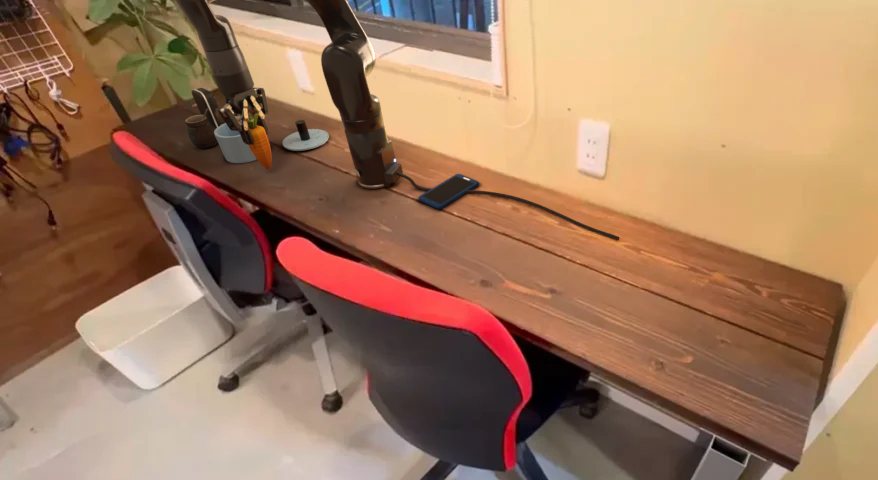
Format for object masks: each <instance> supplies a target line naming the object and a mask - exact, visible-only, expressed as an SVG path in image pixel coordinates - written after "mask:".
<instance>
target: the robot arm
mask: <svg viewBox="0 0 878 480" xmlns="http://www.w3.org/2000/svg"><path fill="white" fill-rule="evenodd" d="M174 2H175V4H176V5H177V6H178V8H179V9H180V11H181V12H182V13H183V15H184V16H185V18H186V19H187V21H188V23H189V24H190V25H191V26H192V27H193V29H194V31H195V32H196V35H197V38H198V40H199V42H200V44H201V47H202V50H203V52H204V56H205V58H206V63H207V65H208V66H209V70H210V71H211V74H212V76H213V80H214V82H215V83H216V86H217V88H218V91H219V92H220V94H222V95H223V96H224V100H225V105H224V106H223V107H218V108H217V112H218V114H219V115H220V117H221V119H222V120H223V121H224V123H226V124H227V126H228V127H229V129H230V130H232V131H239V133H240V135H241V137H242V140H243V142H244V143H245V144H248V145H252V144H254V140H253V138H252V136H251V133H250V131H249V129H248V124H247V120H248V114H250V116H251V117H253V118H254V115H255V113H256V114H258V115H259V116H258V119H257V124H256V125H258V126H262V127H263V128H264V129H265V132H266V134H267V135H268V134H269V128H268V125H267V123H266V120H265V119H266V115H267V114H269V106H268V102H267V96H266V91H265V89H264V87H255V82H254V80H253V77H252V75H251V72H250V68H249V66H248V64H247V61H246V59H245V56H244V53H243V51H242V49H241V48H240V45H239V43H238V40H237V38H236V37H237V36H236V35H235V32H234V29H233V27H232V25H231V23H230V21H229V19H228V18H227V17H226V16H224V15H221V14H215V13H214V11H213V9H212V8H211V6H210V3H212V2H216V0H174ZM305 2H306V3H307V4H308V5H309V6H310V7H311V8H312V9H313V10H314V12H315V13H316V15H317V16H318V17H319V18H320V20H321V22H322V24H323V26H324V28H325V30H326V33H327V34H328V36H329V39H330V41H331V42H330V43H329V44H327V45H326V46H325V47H324V49H323V50H322V52H321V56H320V63H321V71H322V73H323V76H324V80H325V83H326V87H327V90H328V92H329V96H330V99H331V101H332V103H333V105H334V106H335V108H336V109H337V110H338V113H339V116H340V120H341V123H342V127H343V130H344V133H345V139H346V141H347V145H348V149H349V152H350V156H351V160H352V164H353V166H352V170H353V172H354V173H355V174H356V179H357V183H358V185H359V186H360V187H361V188H363V189H368V190H377V189H381V188H390V187H391V186H392V185H393V184H394V183H395V182H397V180H398V179H399V178H400V177H401V178H404V179H405V180H406V181H409V182H410V183H411V185H412V186H413V187H414V188H416V189H418V190H420V191H423V192H427V191H429V190H431V189H432V188H430V187H429V188H427V187H423V186H421V185H418V184H417V183H416V182H415V181H414V180H413V179H412V178H411V177H410V176H408V175H406V174H404V173H403V167H402V164H401V163H397V158H396V154H395V149H394V143H393V141H392V140H391V139H389V138H388V133H387V129H386V125H385V119H384V115H383V111H382V105H381V102H380V99H379V97H378V96H376V95H375V94H372V93H371V91H370V88H369V85H368V80H367V77H368V76H369V75H370V74H371V73H372V72H373V71H374V70H375V67H376V60H377V59H376V53H375V50H374V47H373V45H372V43H371V41H370V39H369V37H368V36H367V34H366V32H365V31H364V28H363V27H362V25H361V24H360V22H359V20H358V18H357V17H356V15H355V13H354V11H353V10H352V8H351V6H350V4H349V2H348V1H347V0H305ZM240 114H242V116H240ZM240 120H241V121H242V125H241V123H240ZM447 190H449V189H447ZM466 194H477V195H478V194H480V195H489V196H494V197H495V196H497V197H501V198H506V199H511V200H514V201H518V202H521V203H524V204H526V205H530V206H533V207H535V208H538V209H541V210H543V211H545V212H547V213H549V214H551V215H554V216H556V217H558V218H561V219H562V220H565V221H567V222H569V223H571V224H573V225H576V226H578V227H581V228H582V229H585V230H588V231H590V232H593V233H596V234H598V235H602V236H604V237H608V238H610V239H614V240H617V241H619V240H620V238H621V237H620V236H618V235H615V234H613V233H610V232H607V231H603V230H601V229H597V228H594V227H592V226H590V225H587V224H585V223H582V222H580V221H577V220H575V219H573V218H571V217H568V216H567V215H564V214H562V213H560V212H558V211H555V210H553V209H551V208H549V207H547V206H544V205H541V204H539V203H536V202H534V201H531V200H527V199H525V198H522V197H518V196H514V195H510V194H506V193H501V192H495V191H487V190H479V189H478V190H476V189H472V190H466Z"/></svg>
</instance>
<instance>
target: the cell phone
mask: <svg viewBox="0 0 878 480" xmlns="http://www.w3.org/2000/svg"><path fill="white" fill-rule="evenodd" d="M479 185H480V182H479V180H476V179H474V178H471V177H469V176H467V175H464V174H461V173H456V174H454V175H453V176H451V177H449V178H447V179H445V180H444V181H442V182H440V183H439V184H437V185H436V186H434V187H433V188H430V189H431V190H429V191H425V192H424V193H422V194H421V195H419V196H418V200H419V202H422V203H424V204H425V205H428V206H430V207H432V208H434V209H436V210H443V209H444V208H445V207H447V206H449V205H450V204H451V203H453V202H455V201H456V200H458V199H459V198H461V197H463V196H464V195H465V194H467V193H466V190H475V188H477V187H478V186H479ZM447 189H449V190H447Z"/></svg>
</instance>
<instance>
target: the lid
mask: <svg viewBox="0 0 878 480" xmlns="http://www.w3.org/2000/svg"><path fill="white" fill-rule="evenodd" d="M294 123H295V126H296V129H297V131H296V132H293V133H291V134H289V135H288V136H286V137H284V139H283V140H282V146H283V148H284V149H286V150H289V151H293V152H302V151H309V150H311V149H316V148H318V147H321V146H322V145H324V144H326V142H328V140H329V138H330V136H329V133H328V131H326V130H324V129H320V128H309V129H308V126H307V123H306V121H305V119H298V120H296V121H295V122H294Z"/></svg>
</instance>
